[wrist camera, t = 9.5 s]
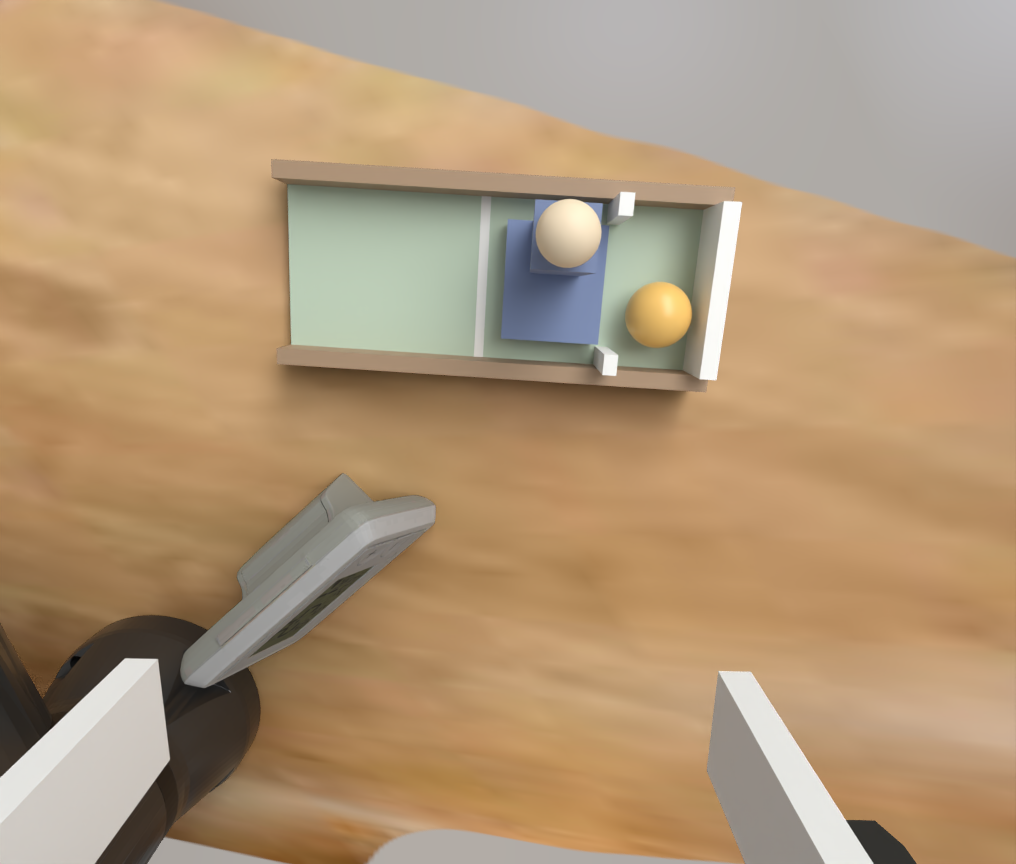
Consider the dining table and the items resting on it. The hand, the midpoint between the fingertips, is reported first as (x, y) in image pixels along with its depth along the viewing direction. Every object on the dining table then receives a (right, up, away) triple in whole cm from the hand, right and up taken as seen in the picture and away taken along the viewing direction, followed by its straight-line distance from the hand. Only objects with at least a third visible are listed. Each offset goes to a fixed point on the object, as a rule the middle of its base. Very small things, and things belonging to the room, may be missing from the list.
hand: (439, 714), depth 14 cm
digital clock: (-11, -2, +31) cm, 33 cm away
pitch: (+1, +17, +25) cm, 30 cm away
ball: (+11, +14, +23) cm, 29 cm away
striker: (+4, +16, +24) cm, 29 cm away
